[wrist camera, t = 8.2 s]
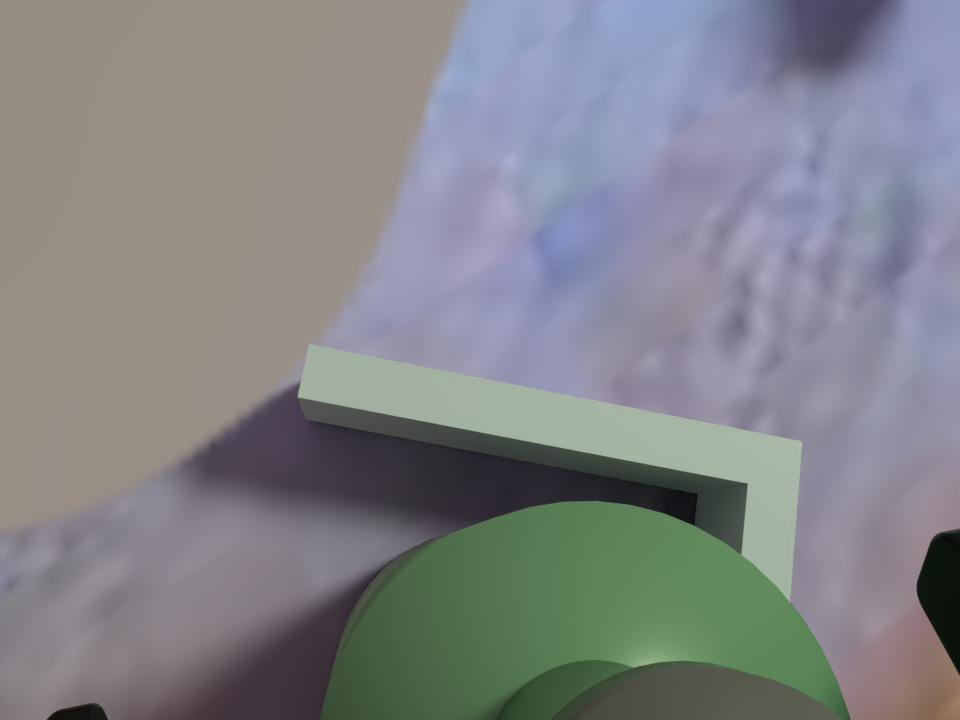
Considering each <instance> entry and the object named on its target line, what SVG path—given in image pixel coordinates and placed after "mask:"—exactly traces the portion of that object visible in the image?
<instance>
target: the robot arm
mask: <svg viewBox="0 0 960 720" xmlns="http://www.w3.org/2000/svg"><path fill="white" fill-rule="evenodd" d="M917 595H918V598H919V601H920V604H921V606H922V608H923V610H924V612H925V614H926V615H927V617H928V619H929V621H930V623H931V624H932V626H933V628H934V630H935V632H936V634H937V635H938V637H939V639H940V641H941V643H942V644H943V646H944V648H945V650H946V652H947V653H948V655H949V657H950V659H951V661H952V663H953V664H954V666H955V668H956V670H957V672H958V673H959V675H960V529H956V530H951V531H946V532H941V533H938V534H937V535H936V536H934V537H933V539H932V540H931V542H930V545H929V548H928V551H927V554H926V557H925V560H924V563H923V565H922V568H921V571H920V574H919V577H918V580H917ZM47 720H108V719H107V716H106V714H105V712H104V710H103V708H102V707H101V706H100V705H99V704H96V703H90V704H85V705H80V706H75V707H70V708H65V709H61V710H58V711H56V712H54V713H53V714H52V715H51V716H50V717H49V718H48V719H47Z"/></svg>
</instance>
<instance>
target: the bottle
mask: <svg viewBox="0 0 960 720" xmlns="http://www.w3.org/2000/svg"><path fill="white" fill-rule="evenodd" d="M319 720H850V716H849V713H848V710H847V707H846V704H845V702H844V699H843V696H842V693H841V690H840V687H839V685H838V682H837V679H836V677H835V675H834V673H833V671H832V669H831V667H830V665H829V663H828V661H827V659H826V657H825V654H824V652H823V650H822V648H821V646H820V645H819V643H818V642H817V640H816V638H815V637H814V635H813V634H812V632H811V631H810V629H809V627H808V626H807V624H806V623H805V621H804V620H803V618H802V617H801V615H800V614H799V613H798V611H797V610H796V609H795V608H794V607H793V605H792V604H791V603H790V602H789V600H788V599H787V598H786V597H785V596H784V594H783V593H782V592H781V591H780V590H779V588H778V587H777V586H776V585H775V584H774V583H773V582H772V581H770V580H769V579H768V578H767V577H766V576H765V575H764V574H763V573H762V572H761V571H760V570H759V569H758V568H757V567H756V566H755V565H754V564H753V563H751V562H750V561H749V560H747V559H746V558H745V557H743V556H742V555H741V554H739V553H738V552H737V551H735V550H734V549H733V548H731V547H730V546H729V545H727V544H726V543H724V542H723V541H721V540H719V539H717V538H715V537H714V536H712V535H710V534H708V533H707V532H705V531H703V530H701V529H699V528H698V527H696V526H694V525H691V524H689V523H686V522H684V521H681V520H679V519H676V518H674V517H671V516H669V515H667V514H664V513H660V512H656V511H653V510H649V509H645V508H641V507H637V506H633V505H627V504H619V503H610V502H602V501H573V502H559V503H552V504H546V505H539V506H533V507H528V508H525V509H522V510H518V511H515V512H512V513H508V514H505V515H501V516H498V517H495V518H492V519H489V520H486V521H483V522H481V523H478V524H475V525H472V526H469V527H466V528H463V529H460V530H457V531H454V532H451V533H449V534H446V535H443V536H440V537H437V538H434V539H431V540H428V541H426V542H424V543H422V544H420V545H417V546H415V547H413V548H411V549H410V550H408V551H406V552H405V553H403V554H402V555H400V556H398V557H397V558H396V559H394V560H393V561H392V562H391V563H389V564H388V565H387V566H386V567H385V568H383V569H382V570H381V571H380V572H379V573H378V575H377V576H376V577H375V578H374V579H373V580H372V581H371V582H370V583H369V584H368V586H367V587H366V589H365V590H364V591H363V593H362V594H361V595H360V597H359V598H358V600H357V602H356V604H355V605H354V607H353V609H352V611H351V612H350V614H349V617H348V619H347V622H346V624H345V626H344V629H343V631H342V634H341V638H340V642H339V646H338V649H337V653H336V657H335V661H334V665H333V669H332V673H331V677H330V680H329V684H328V688H327V692H326V696H325V700H324V704H323V708H322V712H321V716H320V719H319Z"/></svg>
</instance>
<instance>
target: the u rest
mask: <svg viewBox="0 0 960 720" xmlns="http://www.w3.org/2000/svg"><path fill="white" fill-rule="evenodd" d="M298 400H299V403H300V405H301V408H302V410H303V413H304V415H305V418H306V420H310V421H316V422H321V423H326V424H331V425H337V426H342V427H347V428H353V429H358V430H363V431H368V432H374V433H379V434H384V435H390V436H395V437H400V438H405V439H411V440H416V441H421V442H426V443H432V444H437V445H442V446H448V447H453V448H458V449H463V450H469V451H474V452H479V453H484V454H490V455H495V456H500V457H506V458H511V459H516V460H521V461H527V462H532V463H537V464H542V465H548V466H553V467H558V468H564V469H569V470H574V471H579V472H585V473H590V474H595V475H600V476H606V477H611V478H616V479H622V480H627V481H632V482H637V483H643V484H648V485H653V486H659V487H664V488H669V489H674V490H680V491H685V492H690V493H695V494H698V497H697V506H696V516H695V525H694V526H696V527H698V528H699V529H701V530H703V531H705V532H707V533H708V534H710V535H712V536H714V537H715V538H717V539H719V540H721V541H723V542H724V543H726V544H727V545H729V546H730V547H731V548H733V549H734V550H735V551H737V552H738V553H739V554H741V555H742V556H743V557H745V558H746V559H747V560H749V561H750V562H751V563H753V564H754V565H755V566H756V567H757V568H758V569H759V570H760V571H761V572H762V573H763V574H764V575H765V576H766V577H767V578H768V579H769V580H770V581H772V582H773V583H774V584H775V585H776V586H777V587H778V588H779V590H780V591H781V592H782V593H783V594H784V596H785V597H786V598H787V599H788V600H789V602H790V595H791V581H792V568H793V555H794V542H795V529H796V516H797V503H798V490H799V476H800V463H801V450H802V441H797V440H792V439H787V438H782V437H777V436H772V435H767V434H762V433H757V432H752V431H747V430H742V429H737V428H732V427H726V426H721V425H716V424H711V423H706V422H701V421H696V420H691V419H686V418H681V417H676V416H671V415H666V414H661V413H656V412H651V411H645V410H640V409H635V408H630V407H625V406H620V405H615V404H610V403H605V402H600V401H595V400H590V399H585V398H580V397H575V396H569V395H564V394H559V393H554V392H549V391H544V390H539V389H534V388H529V387H524V386H519V385H514V384H509V383H504V382H499V381H493V380H488V379H483V378H478V377H473V376H468V375H463V374H458V373H453V372H448V371H443V370H438V369H433V368H428V367H423V366H418V365H412V364H407V363H402V362H397V361H392V360H387V359H382V358H377V357H372V356H367V355H362V354H357V353H352V352H347V351H342V350H336V349H331V348H326V347H321V346H316V345H311V344H309V349H308V353H307V357H306V362H305V366H304V371H303V375H302V379H301V384H300V388H299V392H298Z"/></svg>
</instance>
